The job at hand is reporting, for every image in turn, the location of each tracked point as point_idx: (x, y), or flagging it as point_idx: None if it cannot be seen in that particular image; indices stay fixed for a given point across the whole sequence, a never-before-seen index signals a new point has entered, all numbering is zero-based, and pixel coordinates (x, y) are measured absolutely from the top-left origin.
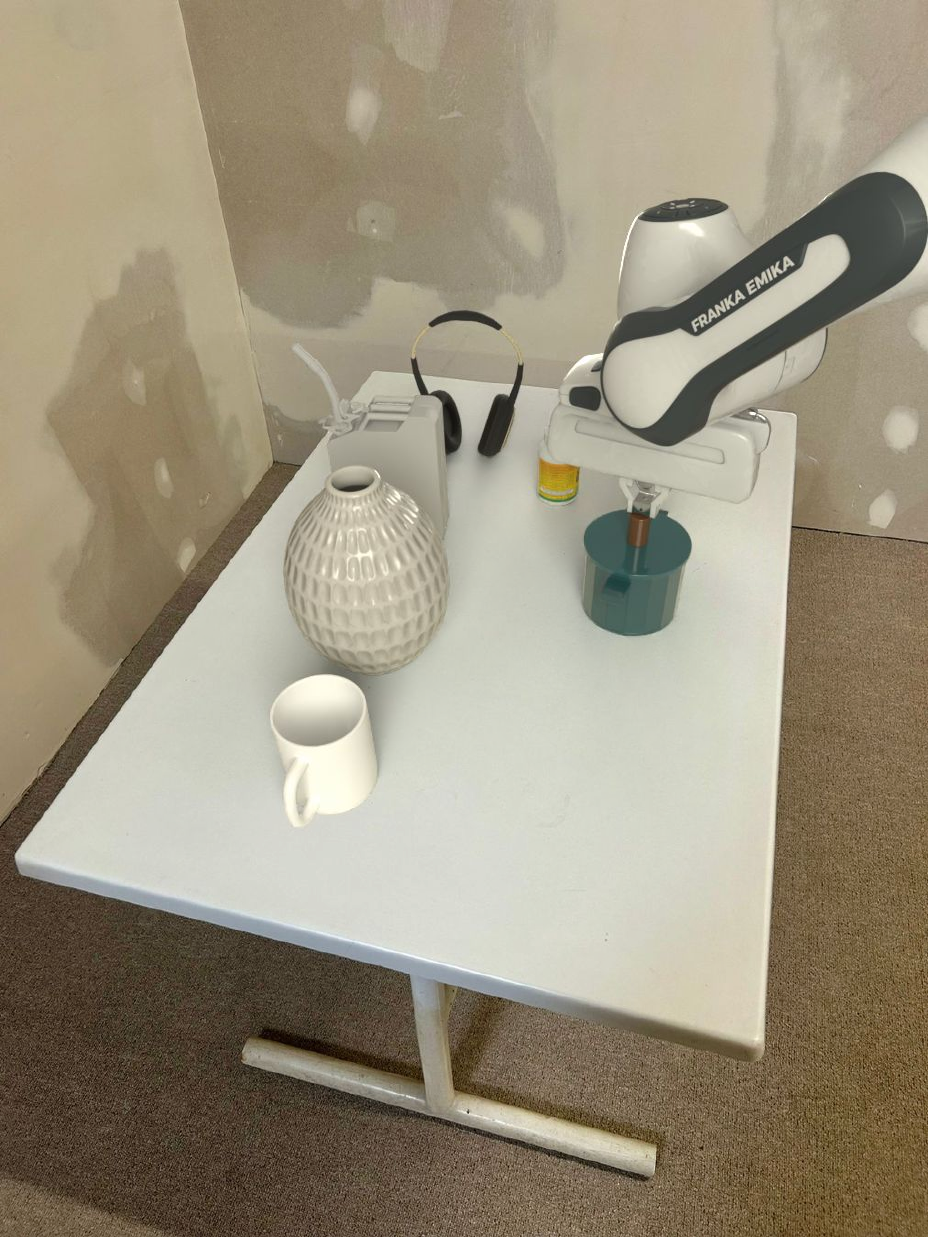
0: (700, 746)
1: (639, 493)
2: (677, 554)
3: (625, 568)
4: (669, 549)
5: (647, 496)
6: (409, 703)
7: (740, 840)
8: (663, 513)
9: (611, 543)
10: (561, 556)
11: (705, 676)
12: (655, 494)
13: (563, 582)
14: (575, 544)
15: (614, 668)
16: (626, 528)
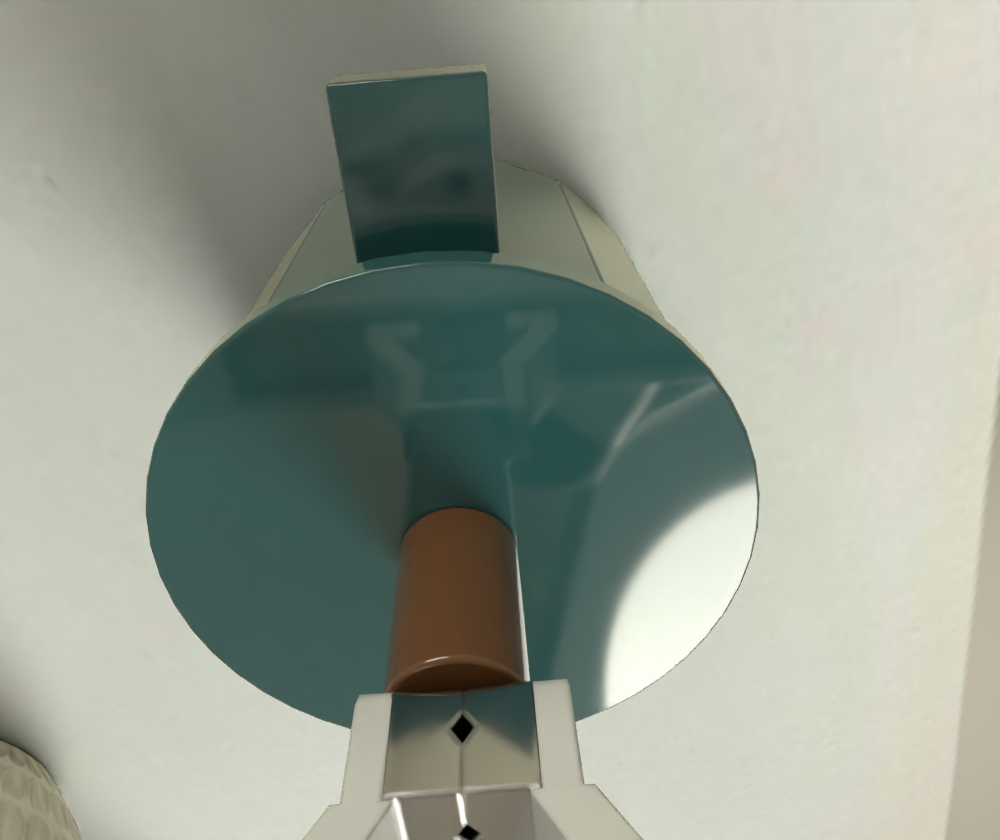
0: (809, 684)
1: (405, 813)
2: (695, 553)
3: None
4: (645, 540)
5: (480, 814)
6: (163, 836)
7: (909, 799)
8: (463, 121)
9: (349, 618)
10: (55, 205)
11: (791, 510)
12: (536, 804)
13: (178, 349)
14: (41, 86)
15: None
16: (354, 492)
